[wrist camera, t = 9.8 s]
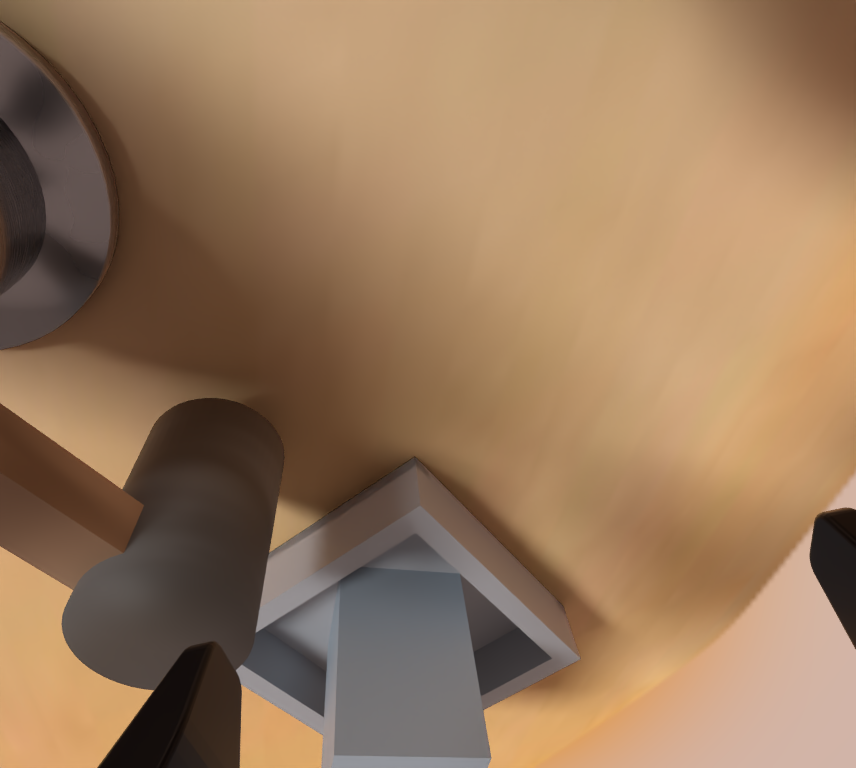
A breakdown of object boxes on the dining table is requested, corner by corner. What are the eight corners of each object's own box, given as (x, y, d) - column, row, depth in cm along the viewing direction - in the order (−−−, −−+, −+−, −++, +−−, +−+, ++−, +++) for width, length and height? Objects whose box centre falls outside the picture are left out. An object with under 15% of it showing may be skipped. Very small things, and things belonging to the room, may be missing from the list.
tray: (414, 456, 22) (420, 505, 20) (563, 606, 27) (581, 659, 25) (204, 595, 25) (189, 652, 23) (373, 711, 29) (374, 767, 27)
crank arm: (-277, 178, 15) (-661, 289, 9) (-153, 25, 14) (-513, 44, 8) (209, 532, 21) (155, 721, 16) (323, 450, 20) (309, 624, 14)
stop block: (459, 573, 25) (491, 758, 19) (437, 651, 27) (459, 839, 21) (340, 565, 24) (333, 755, 18) (327, 646, 26) (317, 839, 20)
